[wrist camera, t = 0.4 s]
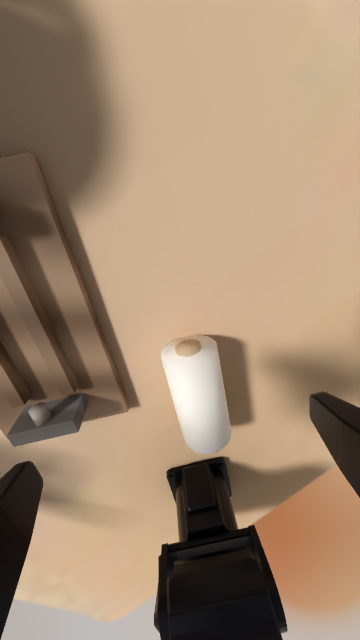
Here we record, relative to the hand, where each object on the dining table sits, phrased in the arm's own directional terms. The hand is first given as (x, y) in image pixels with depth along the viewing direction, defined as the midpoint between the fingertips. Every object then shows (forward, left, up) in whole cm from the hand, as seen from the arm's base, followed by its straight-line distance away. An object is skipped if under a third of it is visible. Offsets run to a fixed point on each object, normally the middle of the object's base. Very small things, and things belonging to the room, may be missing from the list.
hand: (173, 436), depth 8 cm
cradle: (+1, +11, -13) cm, 17 cm away
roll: (-8, -1, -13) cm, 15 cm away
